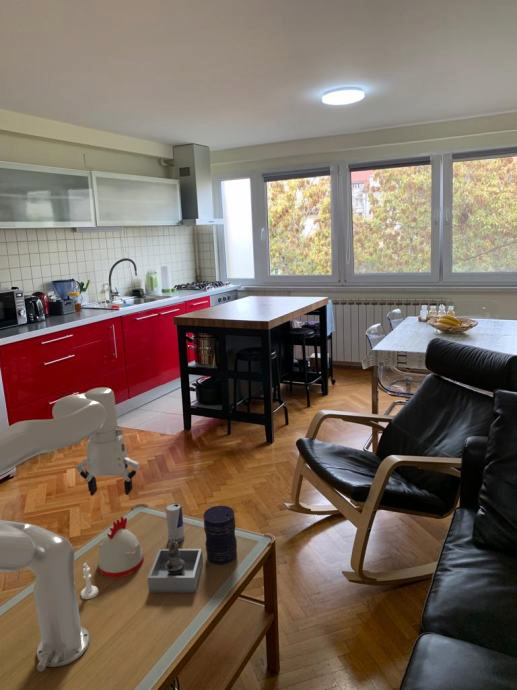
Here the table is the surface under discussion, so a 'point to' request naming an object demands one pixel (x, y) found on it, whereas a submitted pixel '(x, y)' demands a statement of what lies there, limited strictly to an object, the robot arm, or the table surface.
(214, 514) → the storage jar
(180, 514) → the energy drink
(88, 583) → the chess piece
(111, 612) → the table surface
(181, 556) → the box
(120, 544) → the kitchen timer
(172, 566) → the grey pawn
